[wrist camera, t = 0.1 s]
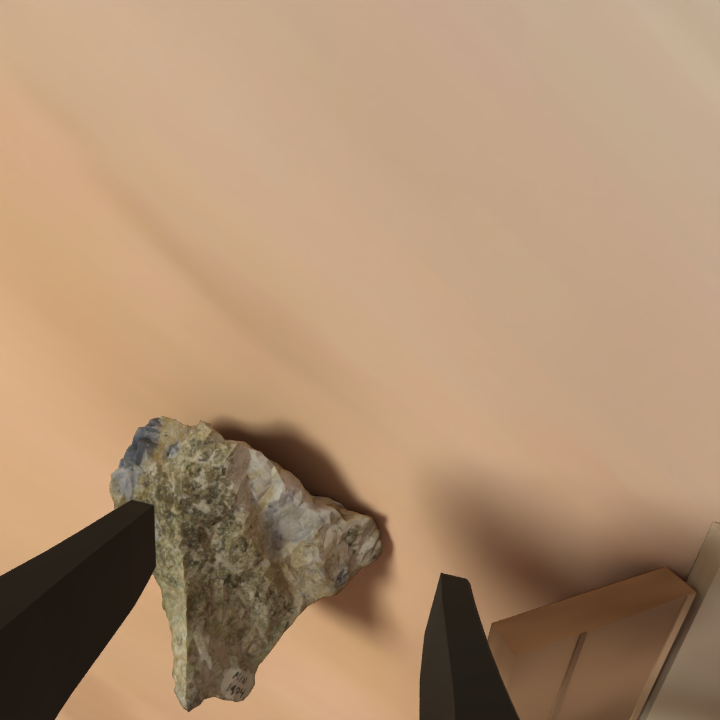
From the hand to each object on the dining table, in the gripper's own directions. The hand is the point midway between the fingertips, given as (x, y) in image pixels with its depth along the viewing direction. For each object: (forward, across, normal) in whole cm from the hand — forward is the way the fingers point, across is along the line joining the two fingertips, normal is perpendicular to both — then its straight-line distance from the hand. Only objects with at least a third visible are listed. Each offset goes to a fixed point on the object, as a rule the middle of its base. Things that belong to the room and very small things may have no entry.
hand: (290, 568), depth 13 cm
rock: (+10, +4, +6) cm, 12 cm away
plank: (+7, -11, +13) cm, 18 cm away
